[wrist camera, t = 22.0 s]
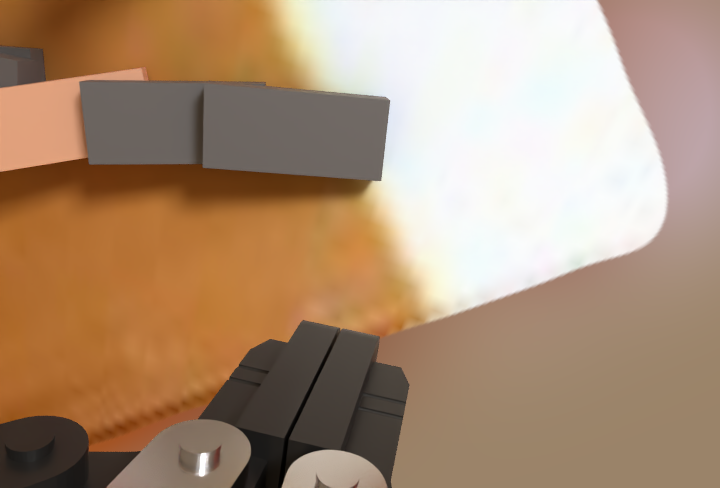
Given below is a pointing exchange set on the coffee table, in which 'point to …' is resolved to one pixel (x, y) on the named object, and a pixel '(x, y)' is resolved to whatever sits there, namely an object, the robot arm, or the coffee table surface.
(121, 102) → the domino
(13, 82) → the domino
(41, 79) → the domino
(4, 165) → the domino
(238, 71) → the coffee table surface
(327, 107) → the domino
